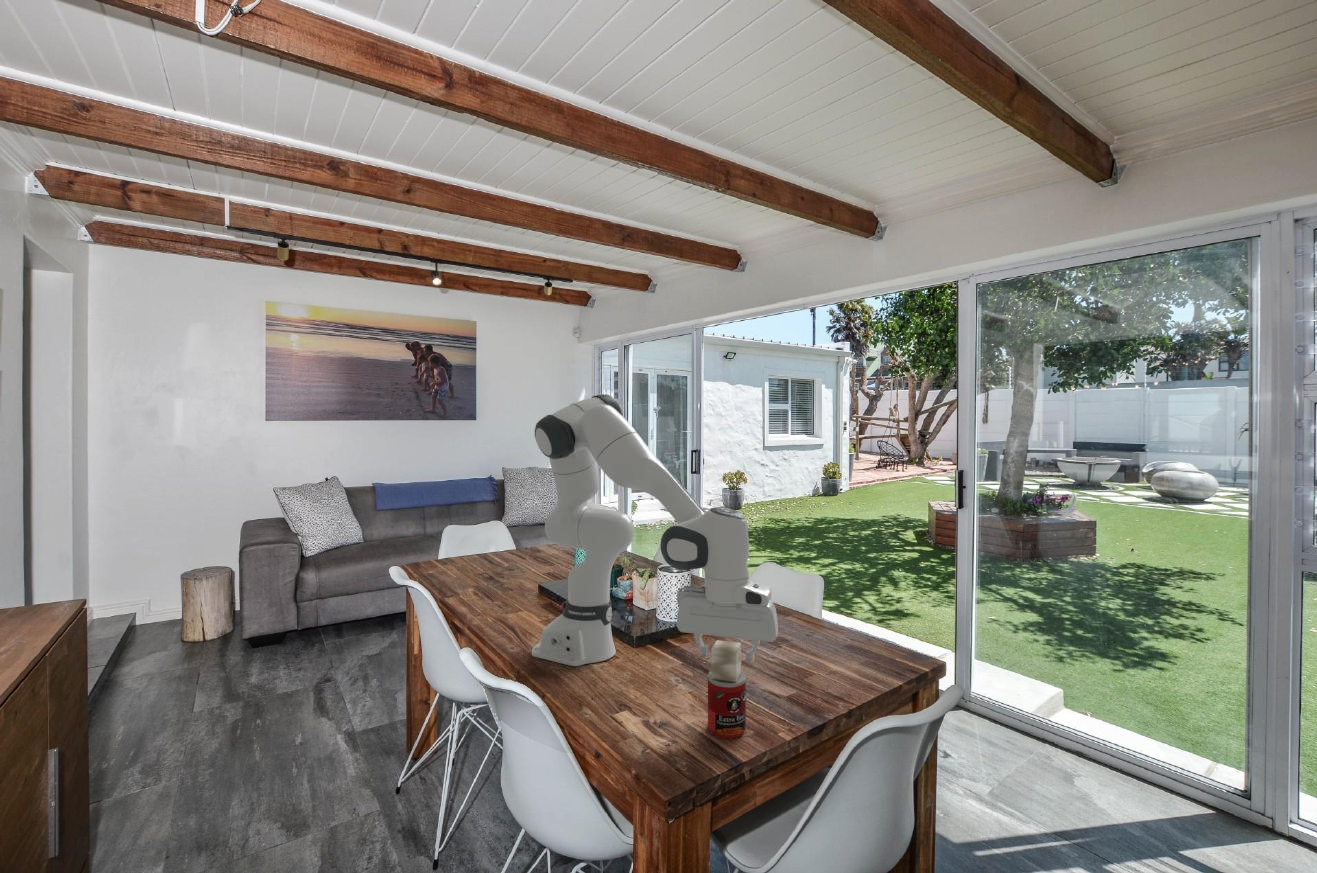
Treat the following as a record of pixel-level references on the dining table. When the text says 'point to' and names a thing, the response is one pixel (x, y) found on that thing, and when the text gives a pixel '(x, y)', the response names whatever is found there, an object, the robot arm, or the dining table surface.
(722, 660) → the birch block
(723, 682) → the canned food
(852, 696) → the dining table surface
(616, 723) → the dining table surface
